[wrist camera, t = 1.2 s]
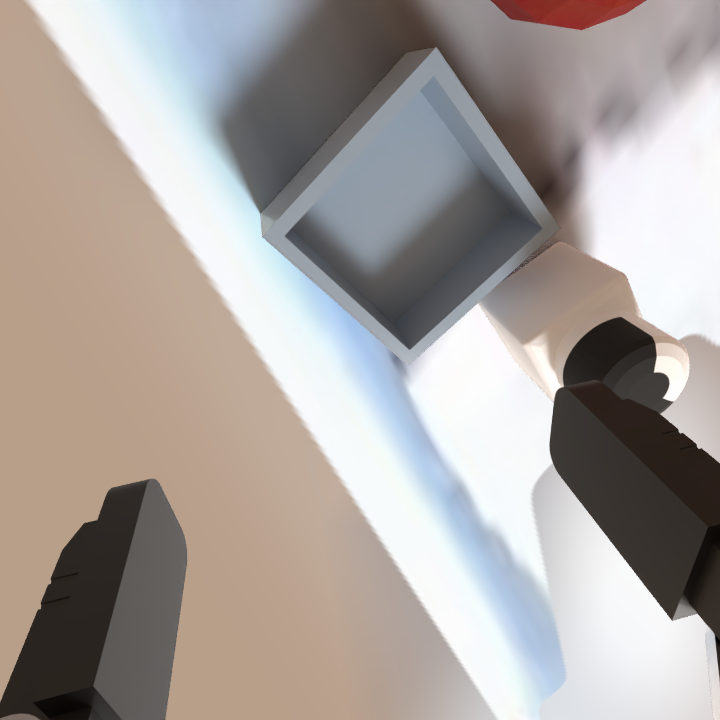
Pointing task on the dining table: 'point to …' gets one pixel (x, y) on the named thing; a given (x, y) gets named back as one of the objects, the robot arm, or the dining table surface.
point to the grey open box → (409, 208)
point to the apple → (566, 11)
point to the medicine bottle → (584, 329)
